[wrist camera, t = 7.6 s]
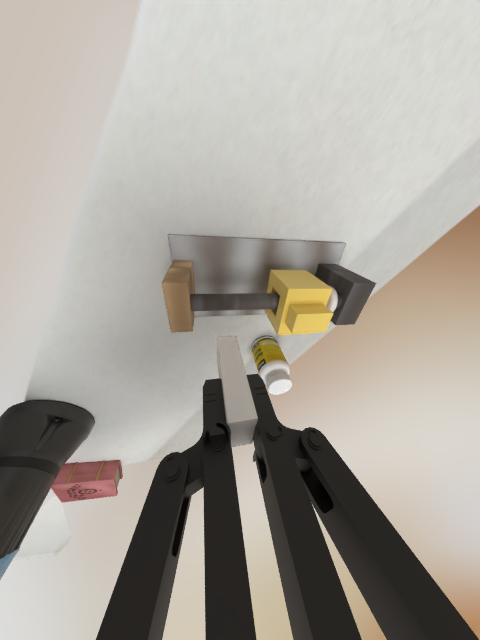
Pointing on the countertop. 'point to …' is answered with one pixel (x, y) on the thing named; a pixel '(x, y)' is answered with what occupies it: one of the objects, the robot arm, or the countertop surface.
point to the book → (87, 480)
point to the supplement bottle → (271, 365)
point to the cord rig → (252, 277)
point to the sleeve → (299, 302)
